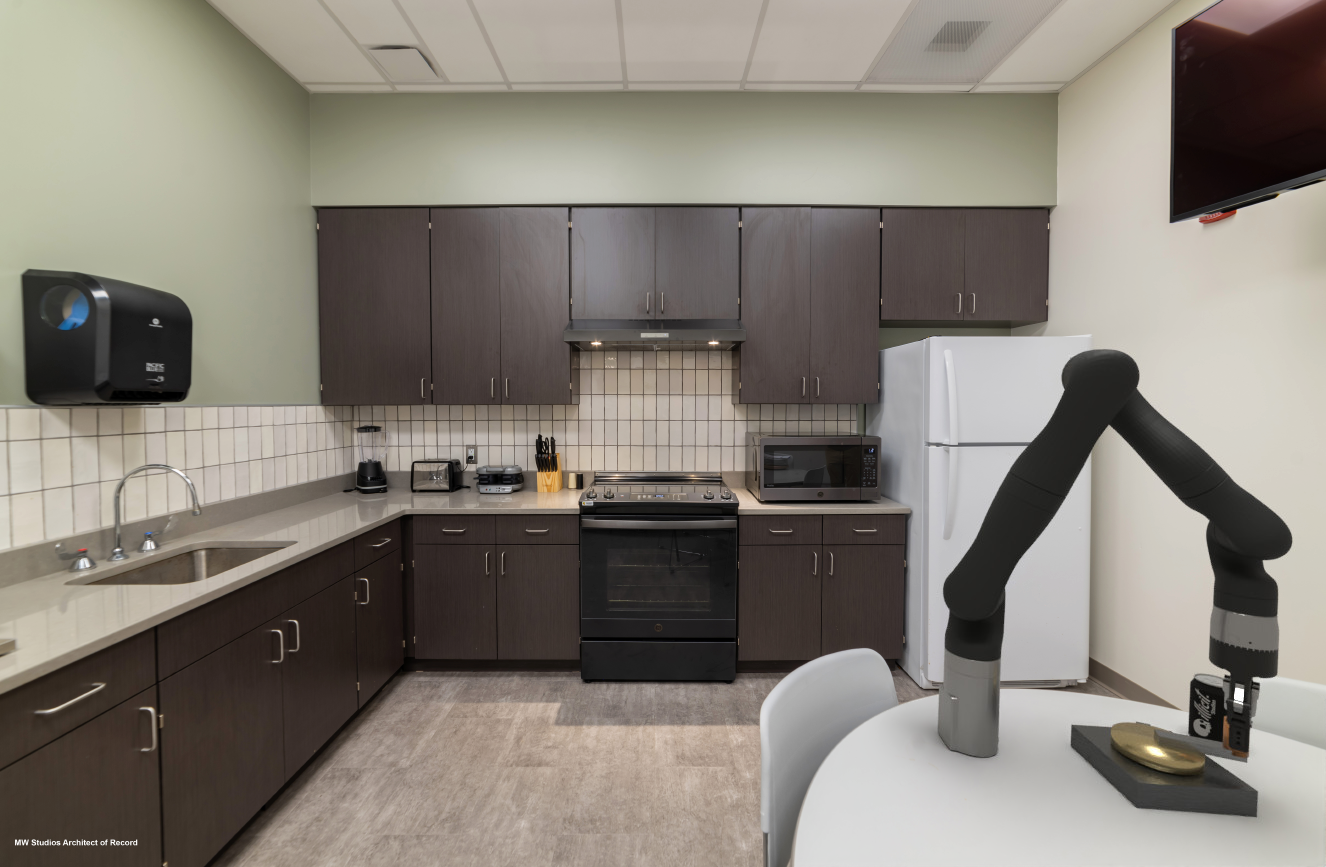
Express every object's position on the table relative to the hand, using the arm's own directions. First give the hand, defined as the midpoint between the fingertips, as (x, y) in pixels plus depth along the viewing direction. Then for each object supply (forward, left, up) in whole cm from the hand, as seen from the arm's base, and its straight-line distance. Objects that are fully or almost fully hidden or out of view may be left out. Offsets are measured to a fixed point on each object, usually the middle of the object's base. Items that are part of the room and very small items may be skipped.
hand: (1238, 748), depth 89 cm
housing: (-7, +7, -9) cm, 14 cm away
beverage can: (+12, +20, -10) cm, 25 cm away
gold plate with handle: (-4, +6, -5) cm, 9 cm away
